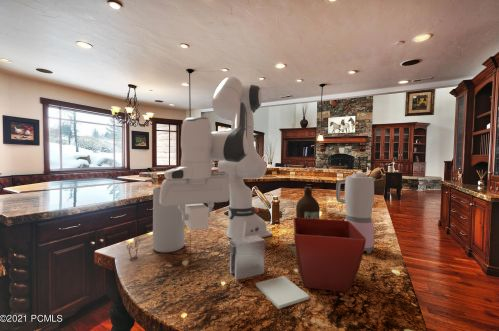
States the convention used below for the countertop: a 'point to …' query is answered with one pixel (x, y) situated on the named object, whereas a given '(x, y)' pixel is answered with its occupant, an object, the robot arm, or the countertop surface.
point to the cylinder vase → (167, 226)
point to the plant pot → (328, 253)
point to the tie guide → (247, 257)
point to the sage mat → (282, 291)
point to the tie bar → (232, 248)
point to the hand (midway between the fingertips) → (196, 218)
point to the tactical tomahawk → (292, 248)
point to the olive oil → (307, 206)
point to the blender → (359, 205)
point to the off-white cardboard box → (197, 216)
